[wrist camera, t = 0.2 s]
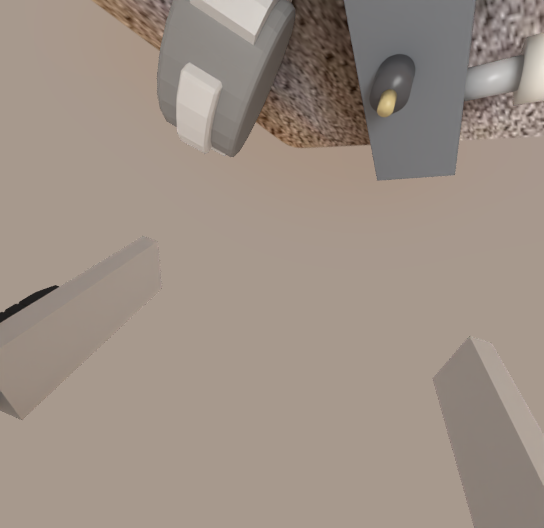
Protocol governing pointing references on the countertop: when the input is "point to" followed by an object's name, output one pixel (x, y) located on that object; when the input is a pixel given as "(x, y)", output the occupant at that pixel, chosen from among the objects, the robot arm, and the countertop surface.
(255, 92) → the grey rounded slab
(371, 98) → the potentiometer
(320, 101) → the countertop surface
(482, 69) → the knob
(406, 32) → the block
